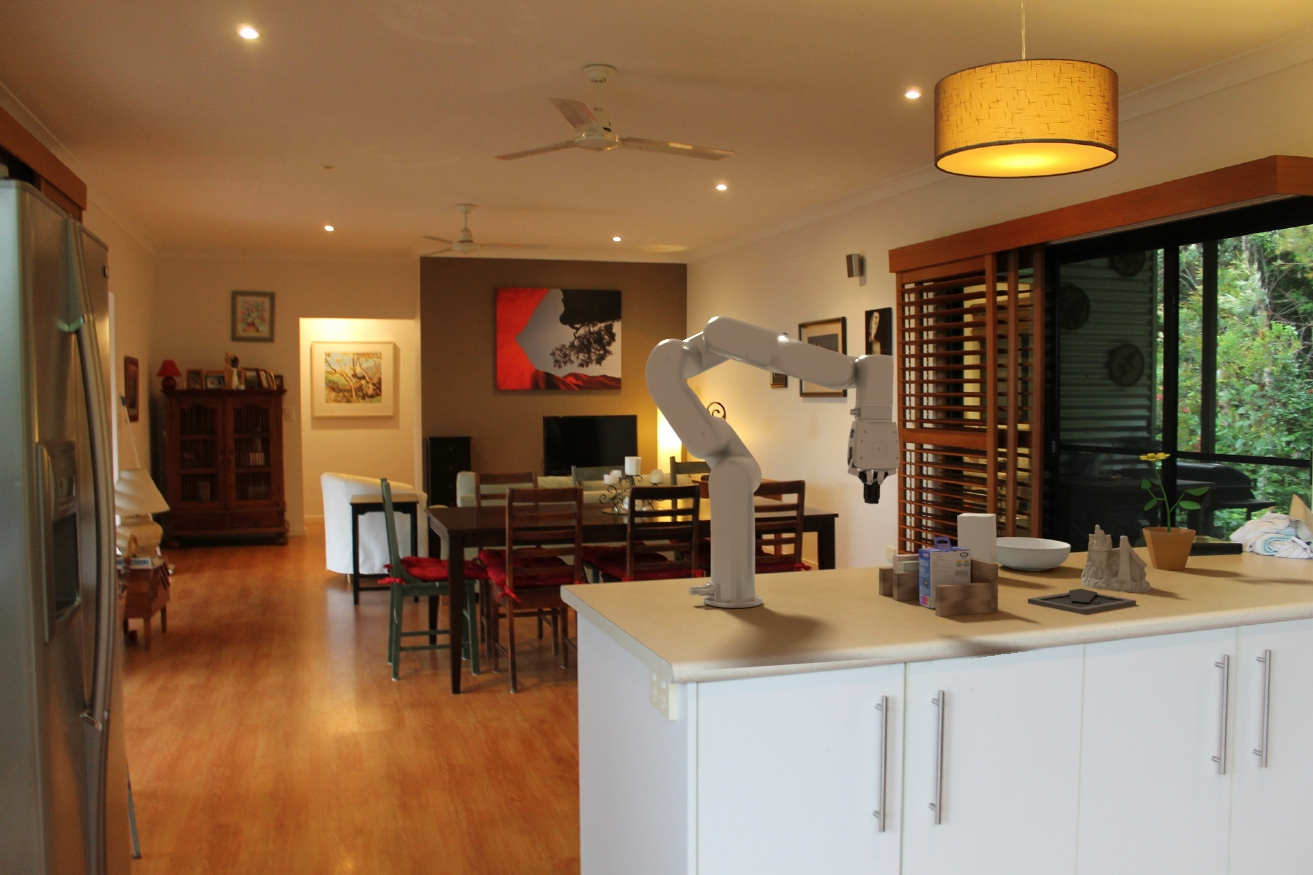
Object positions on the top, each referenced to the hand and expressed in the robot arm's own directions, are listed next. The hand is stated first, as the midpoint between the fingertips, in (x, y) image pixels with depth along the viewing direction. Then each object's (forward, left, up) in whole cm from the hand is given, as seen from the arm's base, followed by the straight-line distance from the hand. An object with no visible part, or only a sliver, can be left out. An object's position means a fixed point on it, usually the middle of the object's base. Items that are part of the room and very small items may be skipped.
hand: (871, 503), depth 204 cm
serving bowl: (+65, +36, -23) cm, 78 cm away
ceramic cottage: (+70, +9, -23) cm, 74 cm away
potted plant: (+100, +25, -23) cm, 106 cm away
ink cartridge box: (+17, 0, -23) cm, 29 cm away
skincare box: (+45, +29, -23) cm, 58 cm away
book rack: (+17, +3, -22) cm, 28 cm away
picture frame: (+46, -7, -23) cm, 52 cm away
